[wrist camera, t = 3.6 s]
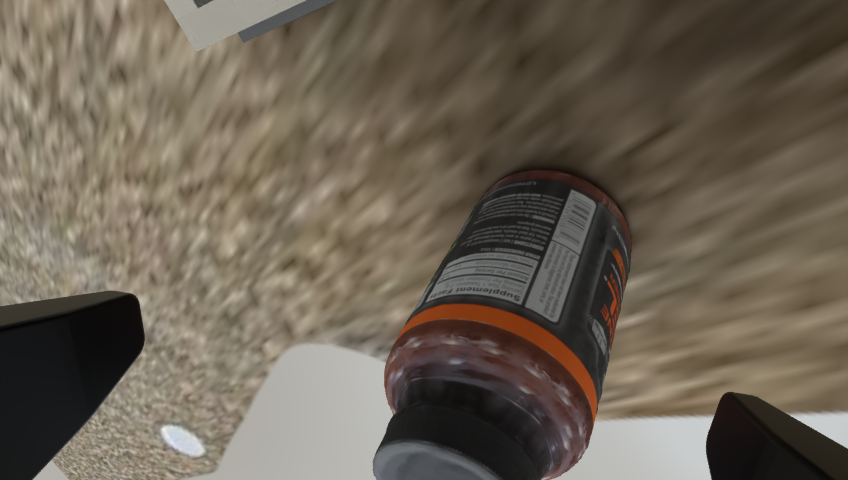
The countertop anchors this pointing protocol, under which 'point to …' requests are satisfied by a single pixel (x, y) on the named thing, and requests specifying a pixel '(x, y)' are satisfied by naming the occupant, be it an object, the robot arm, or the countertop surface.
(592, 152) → the countertop surface
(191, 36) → the plate
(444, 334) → the supplement bottle
